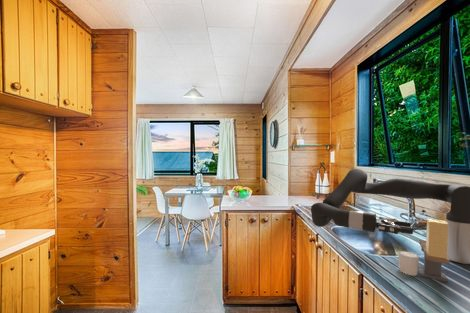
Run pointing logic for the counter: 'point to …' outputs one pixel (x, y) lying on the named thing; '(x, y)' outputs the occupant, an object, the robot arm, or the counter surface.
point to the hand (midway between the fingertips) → (411, 228)
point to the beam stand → (432, 270)
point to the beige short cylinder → (408, 262)
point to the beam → (430, 258)
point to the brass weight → (437, 238)
